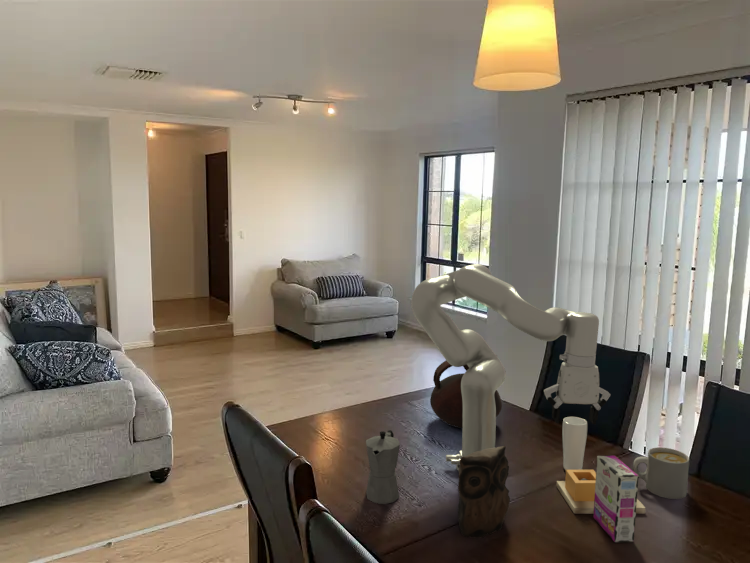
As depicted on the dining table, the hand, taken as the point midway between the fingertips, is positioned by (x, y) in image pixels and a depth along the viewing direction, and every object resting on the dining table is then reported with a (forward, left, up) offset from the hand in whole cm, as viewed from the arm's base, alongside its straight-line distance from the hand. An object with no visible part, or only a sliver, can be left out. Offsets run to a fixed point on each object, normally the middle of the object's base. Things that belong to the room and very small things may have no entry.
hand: (574, 421), depth 151 cm
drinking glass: (+5, +13, -20) cm, 25 cm away
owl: (-28, -15, -20) cm, 37 cm away
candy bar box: (+4, -18, -20) cm, 27 cm away
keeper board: (+6, -4, -20) cm, 21 cm away
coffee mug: (+25, +2, -20) cm, 32 cm away
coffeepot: (-51, -1, -20) cm, 55 cm away
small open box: (+2, -4, -19) cm, 19 cm away
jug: (-21, +49, -20) cm, 57 cm away
